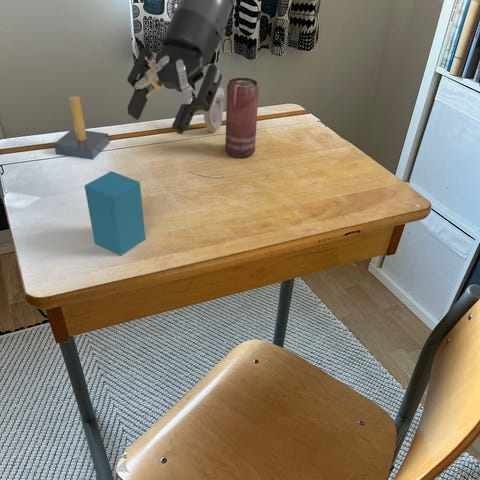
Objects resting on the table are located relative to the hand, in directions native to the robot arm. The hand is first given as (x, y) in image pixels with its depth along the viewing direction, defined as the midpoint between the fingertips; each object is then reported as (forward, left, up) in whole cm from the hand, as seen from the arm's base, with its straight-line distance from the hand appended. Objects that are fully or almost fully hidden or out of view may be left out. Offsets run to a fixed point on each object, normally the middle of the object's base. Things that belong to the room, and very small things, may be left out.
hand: (154, 124), depth 77 cm
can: (+8, +27, -16) cm, 33 cm away
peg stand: (-23, +19, -15) cm, 34 cm away
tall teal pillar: (-3, -10, -15) cm, 18 cm away
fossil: (0, +35, -16) cm, 39 cm away
